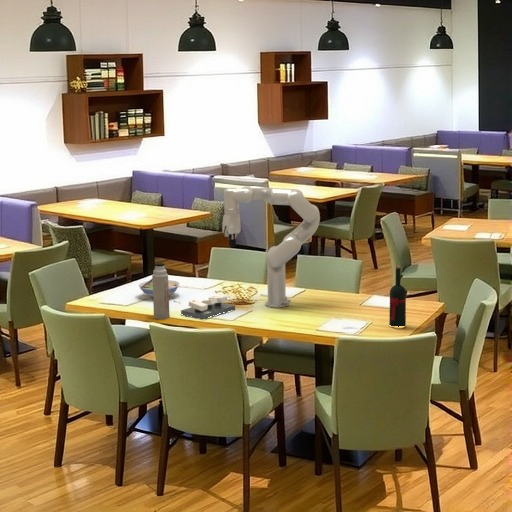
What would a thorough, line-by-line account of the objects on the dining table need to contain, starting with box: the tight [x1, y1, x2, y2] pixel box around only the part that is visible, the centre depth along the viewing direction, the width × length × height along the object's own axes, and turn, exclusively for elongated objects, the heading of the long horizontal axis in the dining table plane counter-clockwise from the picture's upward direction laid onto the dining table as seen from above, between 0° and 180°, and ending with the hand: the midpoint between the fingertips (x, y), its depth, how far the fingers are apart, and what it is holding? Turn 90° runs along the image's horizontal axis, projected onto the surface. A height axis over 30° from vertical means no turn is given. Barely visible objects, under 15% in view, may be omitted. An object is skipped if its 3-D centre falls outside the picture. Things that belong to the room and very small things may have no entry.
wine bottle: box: [388, 265, 407, 327], centre depth 457 cm, size 8×10×30 cm
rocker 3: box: [207, 295, 228, 303], centre depth 498 cm, size 9×4×2 cm, turn 50°
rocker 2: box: [200, 298, 218, 305], centre depth 493 cm, size 9×4×3 cm, turn 49°
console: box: [180, 302, 236, 320], centre depth 493 cm, size 16×24×4 cm, turn 140°
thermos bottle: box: [151, 262, 171, 320], centre depth 484 cm, size 8×8×28 cm
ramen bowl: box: [138, 278, 181, 298], centre depth 528 cm, size 25×23×8 cm
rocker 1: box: [188, 299, 208, 311], centre depth 487 cm, size 9×4×3 cm, turn 51°
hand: (232, 246), depth 501 cm, fingers closed
